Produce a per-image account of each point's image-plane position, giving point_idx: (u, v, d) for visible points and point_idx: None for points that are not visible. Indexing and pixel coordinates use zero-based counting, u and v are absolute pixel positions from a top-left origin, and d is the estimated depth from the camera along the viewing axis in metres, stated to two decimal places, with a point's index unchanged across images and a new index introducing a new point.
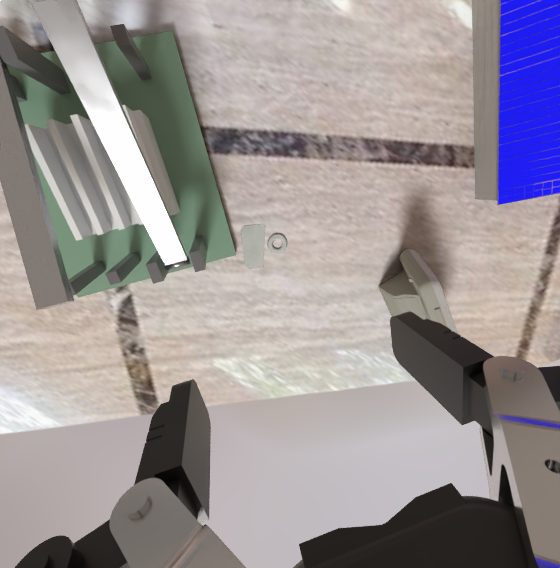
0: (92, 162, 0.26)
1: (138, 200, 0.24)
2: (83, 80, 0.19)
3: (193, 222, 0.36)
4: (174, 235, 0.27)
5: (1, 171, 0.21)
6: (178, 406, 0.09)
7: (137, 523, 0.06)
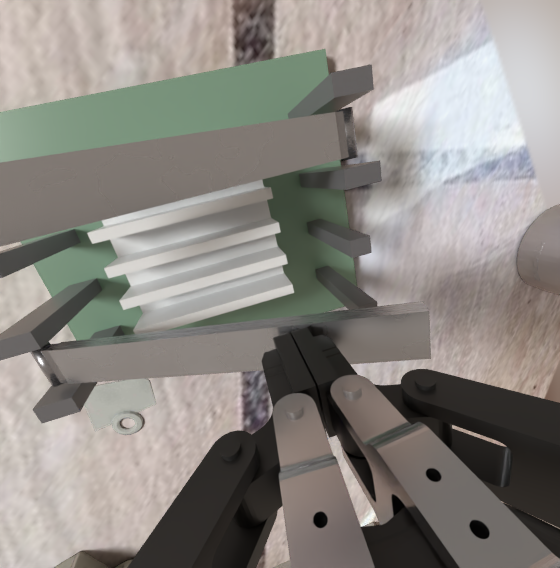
0: (215, 242, 0.17)
1: (156, 348, 0.14)
2: (332, 336, 0.12)
3: None
4: (102, 378, 0.15)
5: (181, 142, 0.11)
6: (288, 350, 0.11)
7: (301, 420, 0.07)
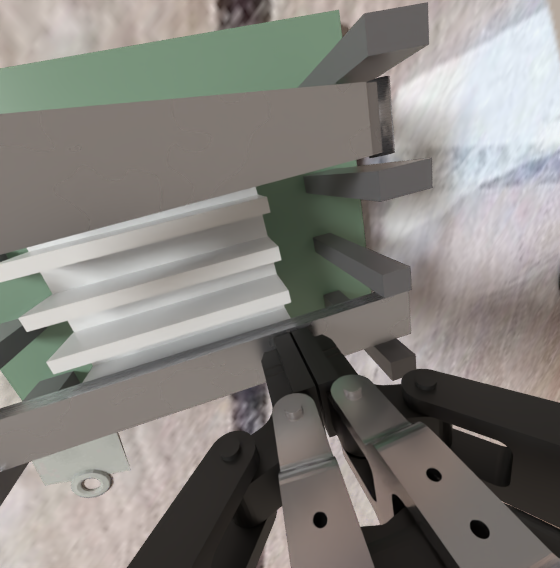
0: (187, 276, 0.12)
1: (131, 389, 0.11)
2: (331, 330, 0.13)
3: None
4: (43, 453, 0.11)
5: (95, 120, 0.06)
6: (287, 350, 0.11)
7: (301, 420, 0.07)
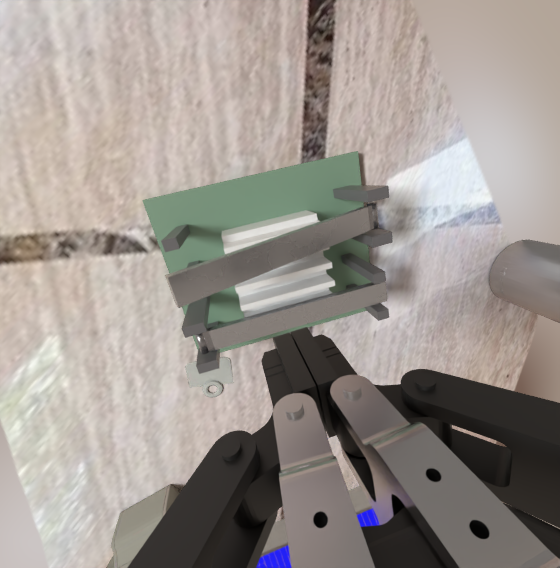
0: (296, 273, 0.29)
1: (273, 317, 0.29)
2: (352, 297, 0.30)
3: (233, 320, 0.37)
4: (238, 341, 0.29)
5: (299, 234, 0.23)
6: (288, 350, 0.11)
7: (301, 420, 0.07)
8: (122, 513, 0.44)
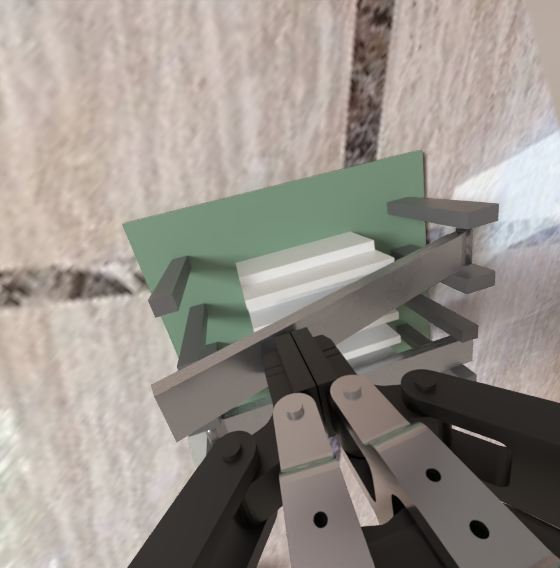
0: None
1: None
2: (426, 359, 0.21)
3: None
4: None
5: (370, 287, 0.14)
6: (288, 350, 0.11)
7: (301, 420, 0.07)
8: None
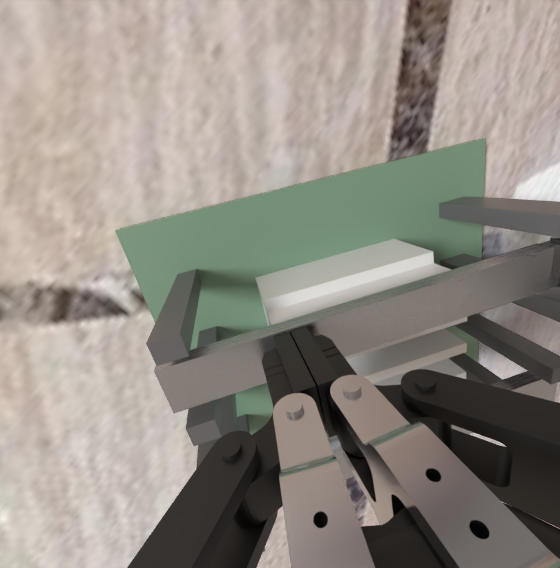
0: (403, 367, 0.16)
1: None
2: None
3: (269, 411, 0.23)
4: None
5: (398, 300, 0.13)
6: (288, 350, 0.11)
7: (301, 420, 0.07)
8: None
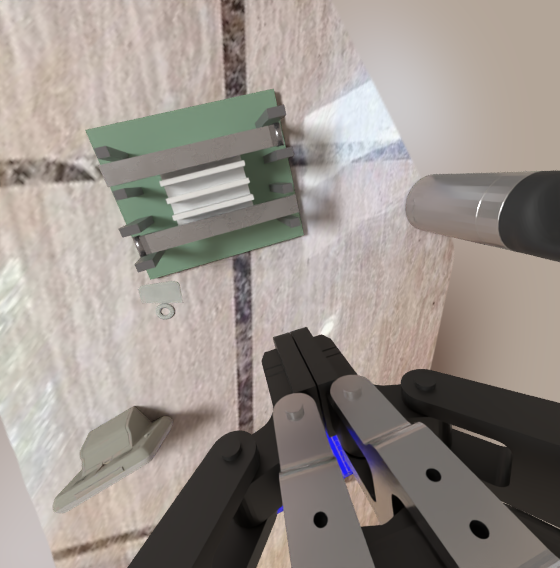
0: (218, 187, 0.35)
1: (200, 224, 0.35)
2: (268, 208, 0.36)
3: None
4: (171, 246, 0.35)
5: (198, 144, 0.32)
6: (288, 350, 0.11)
7: (301, 420, 0.07)
8: (90, 432, 0.49)
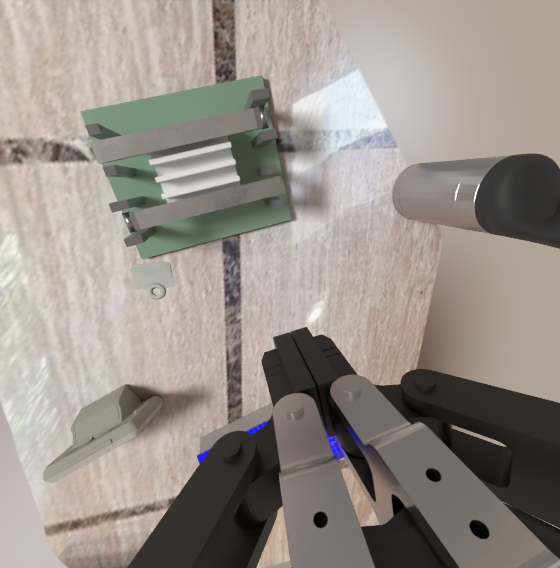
0: (205, 167, 0.36)
1: (187, 202, 0.36)
2: (253, 188, 0.37)
3: (167, 225, 0.43)
4: (159, 223, 0.36)
5: (186, 124, 0.33)
6: (288, 350, 0.11)
7: (301, 420, 0.07)
8: (82, 409, 0.51)
